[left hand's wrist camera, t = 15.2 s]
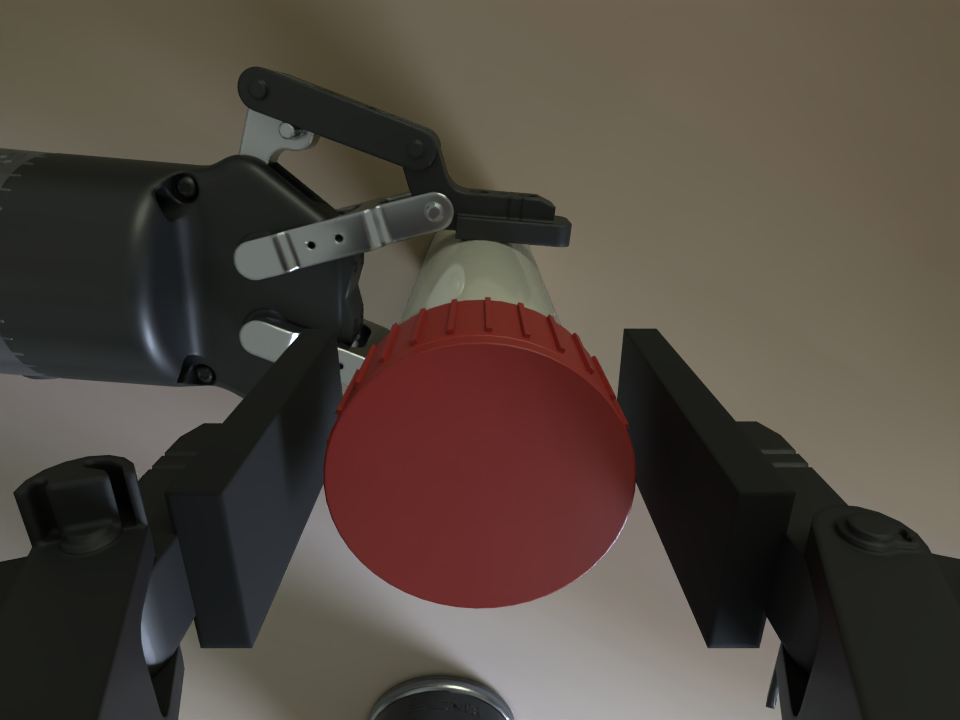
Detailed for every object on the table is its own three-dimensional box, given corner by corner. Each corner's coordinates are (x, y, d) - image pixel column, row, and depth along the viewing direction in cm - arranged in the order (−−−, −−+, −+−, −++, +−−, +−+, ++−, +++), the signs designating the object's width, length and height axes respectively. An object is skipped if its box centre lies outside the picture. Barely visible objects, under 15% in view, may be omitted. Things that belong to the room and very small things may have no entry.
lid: (390, 550, 13) (373, 634, 11) (311, 329, 11) (269, 379, 9) (628, 503, 13) (659, 582, 11) (587, 265, 11) (614, 302, 9)
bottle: (419, 217, 26) (319, 373, 10) (522, 199, 26) (596, 329, 10) (439, 315, 28) (383, 587, 12) (536, 299, 27) (619, 555, 11)
